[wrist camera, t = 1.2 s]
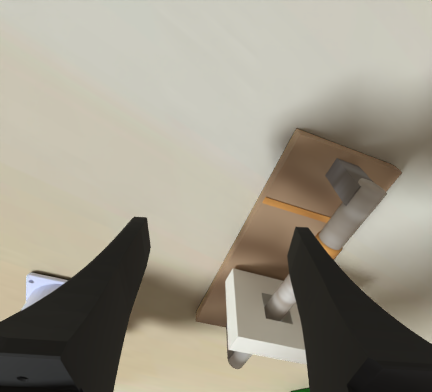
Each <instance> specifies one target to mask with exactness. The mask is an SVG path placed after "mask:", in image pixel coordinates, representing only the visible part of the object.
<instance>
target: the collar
mask: <svg viewBox="0 0 432 392" xmlns="http://www.w3.org/2000/svg"><path fill="white" fill-rule="evenodd" d="M282 282H283V281H282V280H278V279H274V278H270V277H266V276H262V275H258V274H254V273H250V272H246V271H242V270H238V269H234V268H233V269H232V270H231V272H230V274H229V276H228V277H227V279H226V281H225V287H226V309H227V332H228V350H232V351H238V352H243V353H248V354H253V355H258V356H264V357H269V358H274V359H279V360H285V361H290V362H295V363H300V364H306V365H307V361H306V353H305V345H304V338H303V331H302V325H301V320H300V316H299V312H298V308H297V304H296V303H295V304H294V305H293V307H292V308H291V309H290V310H289V311H288V313H287V314H286V315H285V316H284V317H283V319H282V320H281V321H275V320H271V319H266V316H265V310H264V306H265V305H266V304H267V302H268V301H269V300H270V298H271V297H272V296H273V294H274V293H275V292H276V290H277V289H278V288H279V286H280V285H281V284H282Z"/></svg>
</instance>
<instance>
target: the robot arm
mask: <svg viewBox="0 0 432 392" xmlns="http://www.w3.org/2000/svg"><path fill="white" fill-rule="evenodd" d="M150 248H151V246H150V239H149V231H148V223H147V218H145V217H134V218H132V219H131V221H130V222H129V223H128V224H127V225H126V226H125V228H124V229H123V230H122V231H121V232H120V233H119V234H118V235H117V237H116V238H115V239H114V240H113V241H112V242H111V243H110V244H109V245H108V246H107V247H106V248H105V249H104V250H103V251H102V252H101V253H100V254H99V255H98V256H97V257H96V258H95V259H94V260H93V261H91V262H90V263H89V264H88V265H87V266H86V267H85V268H83V269H82V270H81V271H80V272H78V273H77V274H76V275H75V276H74V277H72V278H71V279H70V280H64V279H60V278H55V277H51V276H46V275H41V274H37V273H29V274H28V275H27V277H26V303H25V304H24V306H23V308H22V309H21V311H20V312H18V313H16V314H14V315H12V316H10V317H9V318H7V319H5V320H3V321H1V322H0V392H113V390H114V385H115V380H116V375H117V370H118V365H119V360H120V355H121V351H122V347H123V342H124V338H125V333H126V329H127V325H128V321H129V317H130V313H131V310H132V307H133V304H134V301H135V298H136V295H137V292H138V290H139V287H140V284H141V281H142V278H143V275H144V272H145V269H146V266H147V262H148V257H149V253H150ZM287 259H288V268H289V275H290V280H291V284H292V288H293V292H294V296H295V300H296V304H297V308H298V312H299V316H300V320H301V325H302V331H303V338H304V345H305V353H306V361H307V369H308V378H309V387H310V392H432V344H431V343H429V342H428V341H426V340H425V339H423V338H422V337H420V336H418V335H417V334H415V333H414V332H413V331H411V330H410V329H408V328H407V327H406V326H404V325H403V324H402V323H400V322H399V321H397V320H396V319H395V318H394V317H392V316H391V315H390V314H388V313H387V312H386V311H385V310H384V309H382V308H381V307H380V306H379V305H378V304H376V303H375V302H374V301H373V300H372V299H371V298H369V297H368V296H367V295H366V294H365V293H364V292H363V291H362V290H361V289H360V288H359V287H358V286H357V285H356V284H355V283H354V282H353V281H352V280H351V279H350V278H349V277H348V276H347V275H346V274H345V273H344V272H343V271H342V269H341V268H340V267H339V266H338V265H337V264H336V262H335V261H334V260H333V259H332V258H331V256H330V255H329V254H328V253H327V251H326V250H325V249H324V248H323V246H322V245H321V244H320V242H319V241H318V240H317V238H316V237H315V236H314V234H313V233H312V232H311V230H310V229H309V228H308V227H295V230H294V234H293V237H292V240H291V244H290V247H289V251H288V254H287Z"/></svg>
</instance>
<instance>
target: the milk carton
mask: <svg viewBox="0 0 432 392" xmlns="http://www.w3.org/2000/svg"><path fill="white" fill-rule="evenodd" d="M291 392H310V388H307V389H301V390H296V391H291Z"/></svg>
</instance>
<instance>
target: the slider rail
mask: <svg viewBox="0 0 432 392" xmlns="http://www.w3.org/2000/svg"><path fill="white" fill-rule="evenodd" d="M401 173H402V172H401V171H400V170H399V169H398V168H397V167H396V166H394V165H392V164H389V163H387V162H384V161H381V160H379V159H376V158H374V157H371V156H368V155H366V154H363V153H360V152H358V151H355V150H352V149H350V148H347V147H344V146H342V145H339V144H336V143H334V142H331V141H329V140H326V139H323V138H321V137H318V136H315V135H313V134H310V133H307V132H305V131H302V130H299V129H297V128H296V130H295V132H294V134H293V135H292V137H291V139H290V141H289V143H288V145H287V146H286V148H285V150H284V152H283V154H282V156H281V157H280V159H279V161H278V163H277V165H276V167H275V168H274V170H273V172H272V174H271V176H270V178H269V179H268V181H267V183H266V185H265V187H264V189H263V190H262V192H261V194H260V196H259V198H258V199H257V201H256V203H255V205H254V207H253V209H252V210H251V212H250V214H249V216H248V218H247V220H246V221H245V223H244V225H243V227H242V229H241V231H240V232H239V234H238V236H237V238H236V240H235V242H234V243H233V245H232V247H231V249H230V251H229V253H228V254H227V256H226V258H225V260H224V262H223V264H222V265H221V267H220V269H219V271H218V273H217V275H216V276H215V278H214V280H213V282H212V284H211V286H210V287H209V289H208V291H207V293H206V295H205V297H204V298H203V300H202V302H201V304H200V306H199V308H198V309H197V311H196V321H197V322H202V323H207V324H212V325H217V326H222V327H226V330H227V309H226V287H225V281H226V279H227V277H228V276H229V274H230V272H231V270H232V269H233V268H234V269H238V270H242V271H246V272H250V273H254V274H258V275H262V276H266V277H270V278H274V279H278V280H282V281H283V282H282V284H281V285H280V286H279V288H278V289H277V290H276V292H275V293H274V294H273V296H272V297H271V298H270V300H269V301H268V302H267V304H266V305H265V306H264V310H265V316H266V319H271V320H275V321H281V320H282V319H283V317H284V316H285V315H286V314H287V313H288V311H289V310H290V309H291V308H292V307H293V305H294V304H295V303H296V300H295V296H294V292H293V288H292V284H291V280H290V275H289V268H288V259H287V254H288V251H289V247H290V244H291V240H292V237H293V234H294V230H295V227H308V228H309V229H310V230H311V232H312V233H313V234H314V236H315V237H316V238H317V240H318V241H319V242H320V244H321V245H322V246H323V248H324V249H325V250H326V251H327V253H328V254H329V255H330V256H331V258H332V259H333V260H334V259H335V258H336V256H337V255H338V254H339V253H340V252H341V250H342V249H343V246H344V245H345V243H346V242H347V241H348V240H349V239H350V237H351V236H352V235H353V234H354V233H355V231H356V230H357V229H358V228H359V227H360V225H361V224H362V223H363V222H364V221H365V219H366V218H367V217H368V216H369V215H370V213H371V212H372V211H373V210H374V209H375V208H376V206H377V205H378V204H379V203H380V202H381V200H382V199H383V198H384V197H385V196H386V191H387V190H388V189H389V188H390V187H391V185H392V184H393V183H394V182H395V181H396V179H397V178H398V177H399V176H400V175H401ZM227 354H228V362H229V364H230V365H231V366H232V367H233V368H235V369H240V368H241V367H242V366H243V365H244V364H245V363H246V361H247V360H248V359H249V358H250V357H251V356H252V354H248V353H243V352H238V351H232V350H228V332H227Z"/></svg>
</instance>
